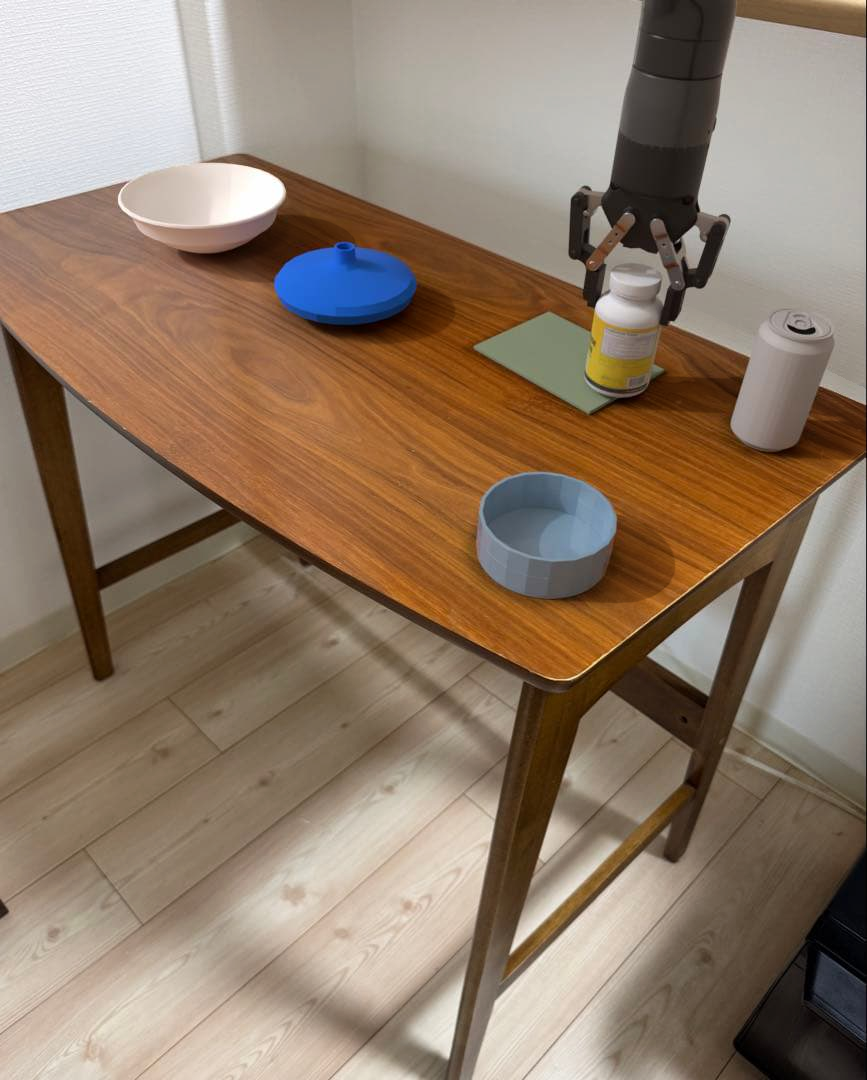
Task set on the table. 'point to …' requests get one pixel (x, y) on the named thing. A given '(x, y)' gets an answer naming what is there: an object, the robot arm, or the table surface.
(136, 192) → the bowl
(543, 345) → the mat
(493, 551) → the grey-blue round dish
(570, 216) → the robot arm
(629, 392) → the pill bottle
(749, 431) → the beverage can
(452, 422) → the table surface
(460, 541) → the table surface
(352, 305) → the vase
